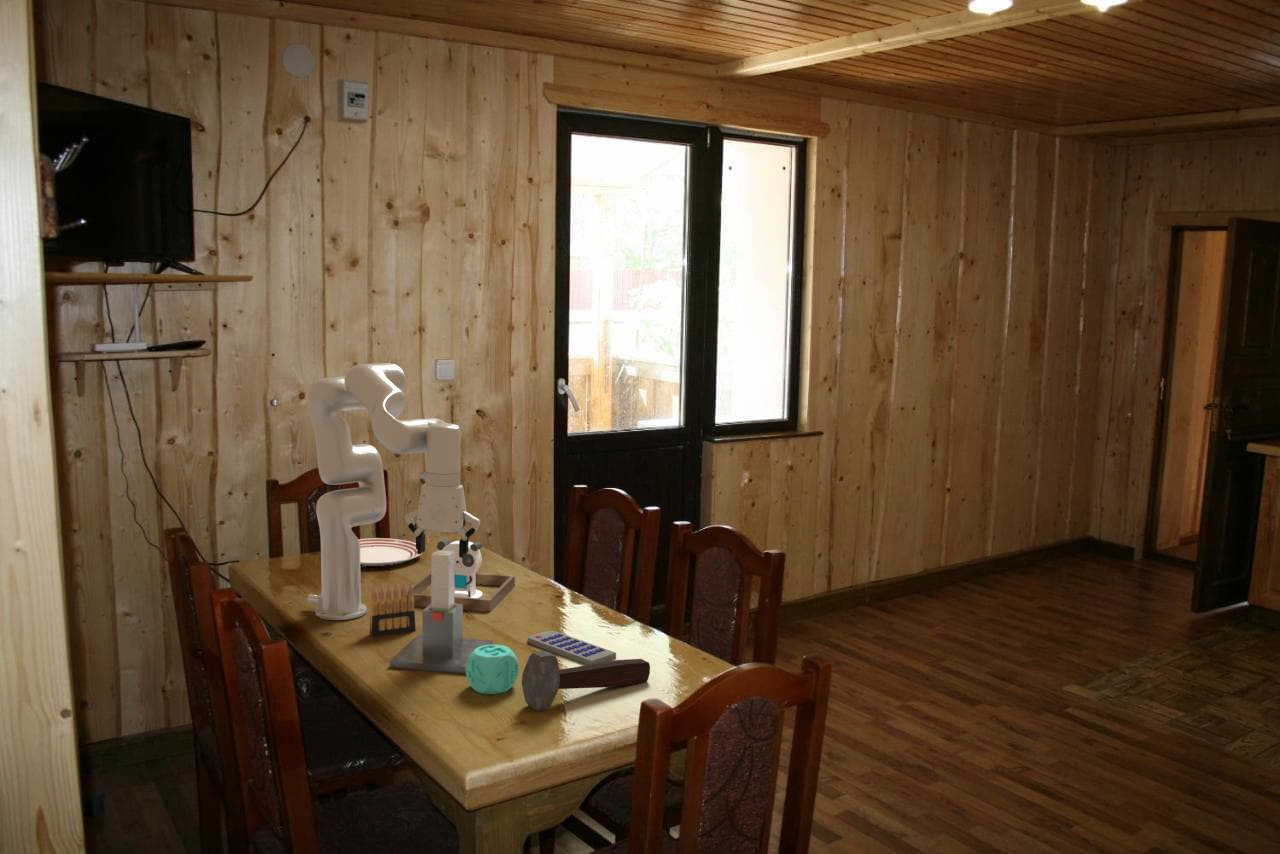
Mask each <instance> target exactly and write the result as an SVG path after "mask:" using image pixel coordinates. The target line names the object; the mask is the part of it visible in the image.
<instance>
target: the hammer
mask: <svg viewBox="0 0 1280 854" xmlns="http://www.w3.org/2000/svg"><path fill="white" fill-rule="evenodd" d="M650 673H651V665H650V662H649V661H647V660H644V659H643V658H632V659H630V658H629V659H627V658H626V659H617V660H616V659H615V660H609V661H607V662H603V663H597V664H591V665H586V664H584V665H580V666H573V667H569V668H560V667H559V661H558V659H557V656H556V654H555V655H554V653H552V652H550V651H548V650H545V651H541V650H540V651H534V652H532V653H531V654H530V655H529V657H528V659H527V662H526V664H525V666H524V669H523V672H522V676H521V683H520V684H521V687H522V692H523V697H524V702H525V703H526V704H527V706H529V707H530V708H531V709H533V710H535V711H536V712H542V711H547V710H548V709H550V708H551V707H552V705H553V702H554V700H555V699H556V695H557V694H558V691H559V690H568V689H570V690H571V689H572V690H573V689H595V688H597V689H598V688H620V687H621V688H622V687H625V688H626V687H630V686H631V687H632V686H637V685H641V684H646V683H647V682H648V680H649V676H650Z"/></svg>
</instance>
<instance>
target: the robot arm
mask: <svg viewBox="0 0 1280 854" xmlns="http://www.w3.org/2000/svg"><path fill="white" fill-rule="evenodd" d="M406 388H407V377H406V375H405V373H404V371H403V369H402V368H401V366H398V365H397V364H395V363H392V362H382V363H381V362H380V363H360V364H357V365H355V366H353V367H351V368H350V369H349V370H348V371H347V372H346V373H345V375H344V376H330V377H324V378H321V379H318V380H316V381H314V382H313V383H312V384H311V385H310V386H309V388H308V390H307V393H306V407H307V411H308V415H309V417H310V420H311V425H312V428H313V431H314V436H315V439H314V441H315V448H316V457H317V466H318V473H319V476H320V479H321V481H322V482H323V483H324V484H326V485H331V486H333V485H334V486H335V485H336V486H337V485H338V486H339V485H345V484H353V483H354V484H355V483H358V487H352V488H349V487H348V488H344V489H337V490H332V491H329V492H326V493H324V494H323V495H321V496H320V497H319V498H318V499H317V502H316V506H315V510H316V511H315V512H316V517H317V521H318V527H319V536H320V559H321V560H320V562H321V565H320V566H321V568H320V569H321V570H320V572H321V575H320V577H321V578H320V579H321V581H320V582H321V594H319V595H317V594H313V593H312V594H311V593H309V594H308V596H307V604H308V605H316V606H317V607H316V608H315V610H314V612H315V616H316V617H317V618H320V619H323V620H328V621H346V620H353V619H357V618H361V617H362V616H364V615H366V613H368V607H367V605H366V604H364V603H362V599H361V598H362V597H361V595H362V594H361V593H362V591H361V590H362V589H361V588H362V585H361V584H362V583H361V581H362V580H361V575H362V574H361V572H362V571H361V567H362V566H360V543H359V538H358V536H356V534H355V532H353V529H352V528H353V527H357V526H361V525H362V526H363V525H369V524H373V523H377V522H379V521H381V520H382V519H383V518H384V517H385V515H386V512H387V496H386V486H385V477H384V476H385V475H384V466H383V461H382V457H381V455H380V453H379V451H378V450H377V449H376V448H375V446H373V445H371V444H368V443H359V444H353V443H352V437H351V429H350V426H349V424H348V422H347V420H346V419H345V418H344V416H342V415H341V413H339V412H344V411H345V412H346V411H360V410H361V411H362V410H367V411H368V412H370V414H371V417H370V419H371V420H370V423H371V428H372V431H373V434H374V437H375V438H376V439H377V441H379V442H380V444H382V445H383V446H384V447H385V448H386V449H387V450H389V451H390V452H391V453H394V454H396V455H409V454H418V453H425V471H424V472H420V473H419V479H422V480H424V484H422V485H421V487H420V493H419V498H418V506H417V509H415V510H414V511H410V512H409V513H407V514H405V515H404V516H403V517H404V520H405V522H406V524H407V527H408V529H409V530H410V531H411V532H412V533H413V536H414V537H415V543H416V549H417V554H421V553H422V554H423V553H424V552H426V534H425V531H429V532H430V531H431V532H441V533H456V534H457V535H458V536H459V537H460V540H458V541H459V557H460V558H463V557H464V556H465V555H466V553H468V543H469V542H470V541H469V539H470V537H471V536H473V535H474V534H475V533H476V532H477V529H478V528H479V527H480V524H481V523H482V521H481V520H480V519H479V518H477V517H476V516H475V515H472V514H471V513H470V512H467V505H466V497H465V490H464V485H462V484H461V465H462V463H461V462H462V460H461V458H462V457H461V455H462V454H461V453H462V431H461V427H460V426H459V425H458V424H454V423H452V422H451V423H449V422H448V423H447V422H445V421H443V420H441V419H440V418H436V417H430V418H429V417H427V418H413V419H404V420H403V419H402V420H399V419H397V418H398V417H399V416H400V415H401V414H402V413H403V411H404V409H405V407H406V403H407V402H406V396H405V393H404V392H405V390H406ZM414 518H417V520H416V521H417V523H416V522H415V520H414ZM467 522H469V523H471V527H469V528H470V529H468V528H467V527H466V525H467ZM422 554H421V555H422Z"/></svg>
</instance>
